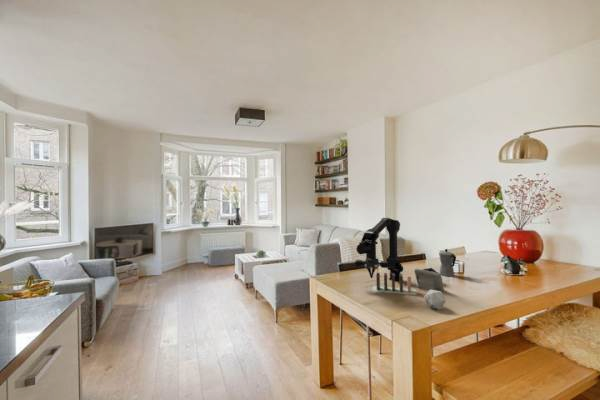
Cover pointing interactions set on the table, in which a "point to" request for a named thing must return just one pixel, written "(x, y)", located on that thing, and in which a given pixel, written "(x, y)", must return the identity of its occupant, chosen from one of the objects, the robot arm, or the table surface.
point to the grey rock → (434, 299)
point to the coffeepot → (447, 263)
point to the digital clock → (429, 280)
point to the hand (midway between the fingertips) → (371, 277)
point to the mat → (397, 290)
